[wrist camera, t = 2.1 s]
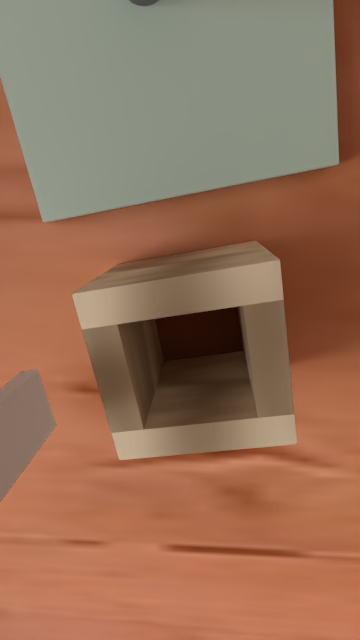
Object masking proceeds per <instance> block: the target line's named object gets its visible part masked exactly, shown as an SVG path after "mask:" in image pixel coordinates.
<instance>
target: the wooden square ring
mask: <svg viewBox="0 0 360 640" xmlns="http://www.w3.org/2000/svg"><path fill="white" fill-rule="evenodd" d="M72 297H73V300H74V304H75V307H76V311H77V314H78V318H79V321H80V325H81V328H82V332H83V335H84V339H85V342H86V346H87V349H88V353H89V356H90V360H91V363H92V367H93V370H94V374H95V377H96V381H97V384H98V388H99V391H100V395H101V398H102V402H103V405H104V409H105V412H106V416H107V419H108V423H109V426H110V430H111V433H112V437H113V440H114V444H115V447H116V451H117V454H118V458H119V460H126V459H137V458H148V457H159V456H170V455H181V454H193V453H204V452H215V451H226V450H237V449H248V448H259V447H270V446H281V445H292V444H297V438H296V427H295V416H294V405H293V395H292V384H291V373H290V362H289V351H288V341H287V330H286V319H285V308H284V297H283V286H282V276H281V265H280V259H278V258H277V257H276V256H275V255H273V254H272V253H271V252H270V251H269V250H267V249H266V248H265V247H264V246H262V245H261V244H260V243H259V242H258V241H256V240H255V241H249V242H244V243H238V244H232V245H226V246H221V247H215V248H209V249H203V250H198V251H192V252H186V253H180V254H175V255H169V256H163V257H157V258H151V259H146V260H140V261H134V262H128V263H123V264H118V265H116V266H114V267H113V268H111V269H110V270H108V271H107V272H105V273H104V274H102V275H100V276H99V277H97V278H96V279H94V280H93V281H91V282H90V283H88V284H86V285H85V286H83V287H82V288H80V289H79V290H77V291H76V292H74V293H73V294H72ZM231 307H237V308H238V315H239V323H240V330H241V337H242V345H243V351H239V352H231V353H223V354H216V355H208V356H200V357H193V358H185V359H177V360H169V361H164V358H163V353H162V348H161V344H160V339H159V334H158V330H157V325H156V320H155V319H157V318H163V317H170V316H177V315H184V314H190V313H197V312H204V311H211V310H217V309H224V308H231Z"/></svg>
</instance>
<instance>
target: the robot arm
mask: <svg viewBox="0 0 360 640" xmlns="http://www.w3.org/2000/svg"><path fill="white" fill-rule="evenodd" d="M55 427H56V422H55V419H54V416H53V413H52V410H51V407H50V404H49V401H48V398H47V395H46V392H45V389H44V387H43V384H42V381H41V378H40V375H39V372H38V370H30V371H22V372H20V373H19V374H18V375H17V376H15V377H14V378H13V379H12V380H11V381H10V382H8V383H7V384H6V385H5V386H4V387H3V388H1V389H0V502H1V501H2V500H3V498H4V497H5V495H6V494H7V493H8V491H9V490H10V489H11V487H12V486H13V484H14V483H15V482H16V480H17V479H18V478H19V476H20V475H21V473H22V472H23V471H24V469H25V468H26V467H27V465H28V464H29V462H30V461H31V460H32V458H33V457H34V456H35V454H36V453H37V451H38V450H39V449H40V447H41V446H42V445H43V443H44V442H45V441H46V439H47V438H48V436H49V435H50V434H51V432H52V431H53V430H54V428H55Z"/></svg>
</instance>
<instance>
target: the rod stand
mask: <svg viewBox="0 0 360 640" xmlns="http://www.w3.org/2000/svg"><path fill="white" fill-rule="evenodd" d="M0 78H1V81H2V84H3V88H4V91H5V95H6V98H7V101H8V105H9V108H10V112H11V115H12V118H13V122H14V125H15V129H16V132H17V135H18V139H19V142H20V146H21V149H22V153H23V156H24V159H25V163H26V166H27V170H28V173H29V176H30V180H31V183H32V187H33V190H34V193H35V197H36V200H37V204H38V207H39V210H40V214H41V217H42V221H43V223H44V222H53V221H59V220H64V219H69V218H74V217H79V216H84V215H89V214H95V213H100V212H105V211H110V210H115V209H120V208H125V207H130V206H135V205H140V204H145V203H150V202H155V201H161V200H166V199H171V198H176V197H181V196H186V195H191V194H196V193H201V192H206V191H211V190H216V189H221V188H226V187H232V186H237V185H242V184H247V183H252V182H257V181H262V180H267V179H272V178H277V177H282V176H287V175H292V174H297V173H303V172H308V171H313V170H318V169H323V168H328V167H331V166H335V165H338V164H339V146H338V119H337V91H336V64H335V37H334V10H333V0H0Z"/></svg>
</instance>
